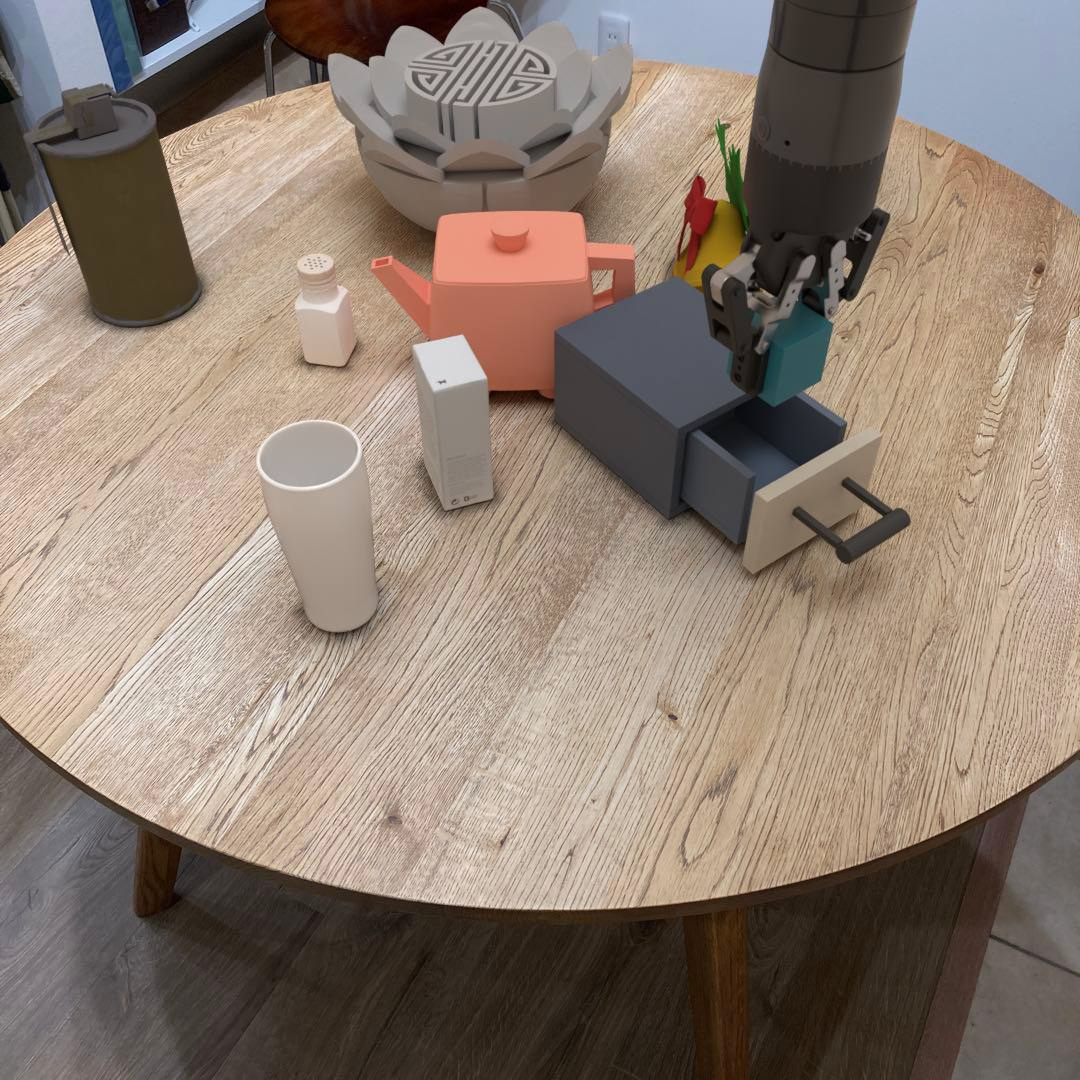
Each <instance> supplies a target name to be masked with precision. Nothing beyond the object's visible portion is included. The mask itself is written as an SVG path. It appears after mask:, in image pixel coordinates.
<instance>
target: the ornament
mask: <svg viewBox="0 0 1080 1080" xmlns="http://www.w3.org/2000/svg"><path fill="white" fill-rule="evenodd" d="M714 128H715V131H716V136H717V140H718V143H719V146H720V147H719V149H720V153H721V155H722V159H723V161H724V174H725V191H726V193H727V196H728V200H729V201H728V200H725V199H714V200H713V199H711V198H708V197H706V196H705V192H706V189H707V183H706V180H705V178H704V177H703V176H702V175H699V174H698V175H696V176H695V177H694V179H693V181H692V184H691V187H690V190H689V192H688V193H687V195H686V196H685V199H684V200H683V205H684V208H685V211H684V217H683V226H682V229H681V232H680V237H679V241H678V243H677V246H676V248H677V251H676V252H677V255H676V262H675V263H674V265H673V270H672V278H673V277H675V276H678V277H680V278H681V279H682V280H684V281H685V282H687V283H688V284H690V285H691V286H693V287H694V288H696V289H697V290H699V291H700V292H702V293H703V287H702V281H701V275H702V272H703V270H704V269H705V268H706V267H707V266H708V265H709V264H712V263H714V264H716V265H717V266H719V267H720V268H722V269H723V268H724V267H726V266H727V265H728V264H729V263H731V262H732V261H733V260H735V259H736V258H737V257H738V256H740V247H741V244H742V242H743V240H744V238H745V236H746V234H747V231H748V228H749V225H750V220H749V216H748V212H747V209H746V206H745V204H744V201H743V197H742V188H743V180H744V178H743V175H742V170H741V147H738V149H737V150H736V149H735V144H734V143H732V144H731V147H730V146H728V147H727V148H726V123H723V125H721V121H720V118H719V117H717V124H714ZM726 149H727V150H728V156H727V151H726ZM727 157H729V160H728V158H727ZM688 224H689V228H690V235H689V240H688V242H687V244H686V246H685V247H684V249H683V250H681V249H682V245H683V240H684V237H685V232H686V229H687V226H688ZM760 290H761V292H762V293H764V290H763V289H762V288H760ZM703 294H704V293H703Z"/></svg>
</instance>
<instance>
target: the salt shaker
mask: <svg viewBox="0 0 1080 1080" xmlns="http://www.w3.org/2000/svg"><path fill="white" fill-rule="evenodd" d="M335 263H336V262H335V259H333V258H332V257H331V256H330V255H328V254H325V253H321V252H320V253H310V254H306V255H304V256H302V257H300V259H298V260H297V262H296V273H297V277H298V282H299V286H300V288H301V292H299V295H298V296H297V298H296V300H295V303H294V313H295V319H296V323H297V327H298V332H299V337H300V342H301V347H302V352H303V353H302V354H303V357H304V360H305V362H308V364H309V363H310V364H314V365H315V364H316V365H325V366H331V367H332V366H333V367H340V368H341V367H344V366H345V365H347V362H348V361H349V359H350V357H351V355H352V353H353V351H354V349H355V347H356V345H357V335H356V330H355V324H354V323H355V322H354V316H353V311H352V304H351V303H352V302H351V297H350V292H349V289H347V288H345V287H344V286H341V285H339V284H338V277H337V275H338V274H337V270H336V269H337V268H336V264H335Z"/></svg>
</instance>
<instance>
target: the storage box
mask: <svg viewBox="0 0 1080 1080" xmlns="http://www.w3.org/2000/svg"><path fill="white" fill-rule="evenodd" d="M554 339H555V340H554V398H553V401H554V404H553V406H554V407H553V409H554V422H555V423H557V424H558V425H559V426H560V427H561V428H562V429H564V430H565V432H567V433H568V434H569V435H571V436H572V437H573V438H574V439H575V440H576V441H577V442H579V443H580V444H581V445H582V446H583V447H584V448H585V449H586V450H588V451H589V452H590V453H591V454H593V456H595V457H596V458H597V459H598V461H600V462H602V464H604V465H605V466H606V467H607V468H608V469H609V470H611V471H612V472H613V473H614V474H615V475H616V476H618V477H619V478H620V479H621V480H622V481H623V482H625V483H626V484H627V485H628V486H629V487H630V488H632V489H633V490H634V491H635V492H636V493H637V494H638V495H640V496H641V497H642V498H643V499H644V500H645V501H647V502H648V503H649V504H650V505H651V506H652V507H653V508H655V509H656V510H657V511H658V512H659V513H660V514H661V515H662V516H664V517H665V518H666V519H667V520H671V519H673V518H674V517H676V516H678V515H680V514H681V513H683V512H685V511H686V510H688V509H691V508H692V507H691V506H690V505H689V504H688V503H686V502H685V501H684V500H683V499H682V498H680V497H679V492H680V484H681V475H682V466H683V457H684V448H685V439H686V433H687V432H689V431H691V430H693V429H695V428H697V427H699V426H701V425H703V424H704V423H706V422H708V421H710V420H712V419H714V418H716V417H718V416H720V415H722V414H723V413H725V412H727V411H729V410H731V409H733V408H735V407H737V406H739V405H741V404H742V403H744V402H746V401H748V400H750V399H752V398H754V397H750V396H749V395H748V394H746V393H745V392H743V391H742V390H741V389H739V388H738V387H737V386H735V384H734V383H732V382H731V379H730V375H728V374H727V366H728V359H729V352H730V350H729V349H728V348H726V347H725V346H723V345H722V344H721V343H719V342H718V341H716V340H715V339H713V338H712V337H711V336H710V330H709V324H708V318H707V311H706V305H705V299H704V294H703V293H702V292H700V291H699V290H697V289H696V288H694V287H693V286H691V285H690V284H688V283H687V282H685V281H684V280H682V279H681V278H680V277H678V276H675V277H673V276H672V277H670V278H668V279H665V280H663V281H662V282H659V283H657V284H655V285H653V286H651V287H648V288H646V289H644V290H641V291H639V292H636V293H635V295H632V296H630V297H628V298H626V299H624V300H621V301H619V302H617V303H615V304H612V305H610V306H608V307H606V308H603V309H601V310H599V311H597V312H595V313H592V314H590V315H588V316H586V317H583V318H581V319H579V320H577V321H575V322H572V323H570V324H568V325H566V326H563V327H561V328H559V329H557V330H555V331H554ZM755 397H756V396H755Z"/></svg>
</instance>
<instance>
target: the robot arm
mask: <svg viewBox="0 0 1080 1080" xmlns="http://www.w3.org/2000/svg"><path fill="white" fill-rule="evenodd" d="M918 1H919V0H773V1H772V9H771V16H770V17H771V18H770V22H769V30H768V37H767V42H766V46H765V51H764V55H763V57H762V58H763V59H762V62H761V64H760V69H759V74H758V78H757V82H756V87H755V95H754V100H753V101H754V102H753V109H752V116H751V124H750V131H749V137H748V145H747V151H746V159H745V167H744V173H743V188H742V197H743V201H744V204H745V206H746V209H747V212H748V216H749V220H750V225H749V228H748V231H747V232H746V236H745V238H744V240H743V242H742V244H741V247H740V256H738V257H737V258H736V259H735V260H733V261H732V262H731V263H729V264H728V265H727V266H726V267H724V268H723V269H722V268H720V267H719V266H717V265H716V264H714V263H712V264H709V265H708V266H707V267H706V268H705V269H704V270H703V272H702V275H701V281H702V287H703V293H704V299H705V305H706V311H707V318H708V324H709V330H710V336H711V337H712V338H713V339H715V340H716V341H718V342H719V343H721V344H722V345H723V346H725V347H726V348H728V349H729V350H730V351H732V352H733V358H732V365H731V371H730V379H731V382H732V383H734V384H735V386H737V387H738V388H739V389H741V390H742V391H743V392H745V393H746V394H748V395H749V396H750V397H755V396H757V395H758V394H760V393H762V392H763V388H764V382H765V377H766V371H767V366H768V360H769V354H770V349H769V348H770V346H771V343H772V341H773V338H774V336H775V333H776V331H777V328H778V326H779V323H780V322H781V321H784V320H787V319H788V318H789V317H790V315H791V312H792V310H793V307H794V305H795V302H796V300H797V301H799V302H801V303H802V304H804V305H805V306H807V307H808V308H810V309H812V310H813V311H815V312H816V313H818V314H819V315H821V316H823V317H824V318H826V319H827V320H829V321H830V320H831V319H833V318H834V317H835V315H836V314H837V312H838V310H839V308H840V305H839V304H840V303H841V302H842V301H843V300H845V301H847V302H852V301H853V300H855V299H856V297H857V296H858V295H859V293H860V290H861V288H862V286H863V284H864V282H865V278H866V277H867V274H868V272H869V269H870V267H871V265H872V263H873V260H874V258H875V255H876V253H877V251H878V248H879V247H880V244H881V241H882V239H883V237H884V234H885V232H886V229H887V227H888V225H889V223H890V219H891V214H890V213H889V212H887V211H886V210H884V209H882V208H881V207H879V206H878V205H876V203H877V202H876V201H877V197H878V194H879V188H880V185H881V180H882V177H883V172H884V167H885V164H886V159H887V154H888V150H889V147H890V143H891V138H892V137H891V136H892V133H893V129H894V124H895V121H896V116H897V112H898V108H899V104H900V101H901V99H900V98H901V95H902V94H901V93H902V87H903V86H902V85H903V75H904V65H905V59H906V53H907V49H908V44H909V40H910V36H911V32H912V28H913V22H914V20H915V19H914V18H915V14H916V10H917V7H918V6H917V5H918ZM845 259H846V260H848V261H849V262H850V263H851V269H850V272H849V273H848V276H847V277H846V276H844V275H845V273H844V261H845ZM760 288H762V289H763V291H765V292H766V293H768V294H769V295H771V296H772V297H774V296H775V297H778V298H777V300H776V301H774V300H773V299H771V298H772V297H770V296H768V295H766V294H765V293H764V292H763V293H762V292H761V290H760ZM755 312H757V313H758V314H760V315H761V317H762V322H761V324H760V327H759V329H757V328H756V327H754V326H753V325H751V322H752V320H753V317H754V315H755Z"/></svg>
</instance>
